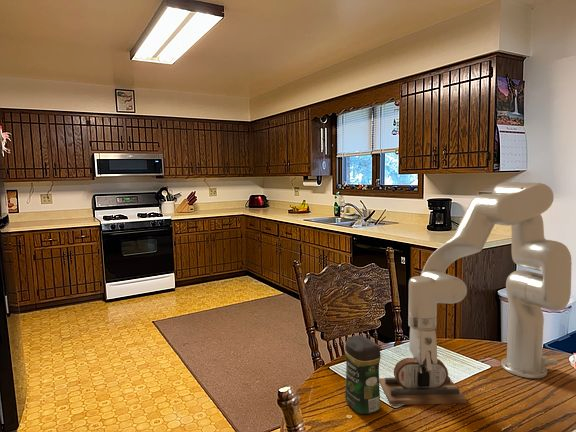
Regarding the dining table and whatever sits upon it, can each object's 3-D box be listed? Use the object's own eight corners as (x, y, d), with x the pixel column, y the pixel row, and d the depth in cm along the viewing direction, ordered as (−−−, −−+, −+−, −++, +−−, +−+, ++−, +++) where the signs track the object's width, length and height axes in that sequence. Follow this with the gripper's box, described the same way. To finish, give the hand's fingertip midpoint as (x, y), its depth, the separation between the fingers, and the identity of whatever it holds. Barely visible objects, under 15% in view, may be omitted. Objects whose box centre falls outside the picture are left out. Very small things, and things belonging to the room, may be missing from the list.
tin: (445, 385, 116) (445, 356, 115) (449, 390, 112) (449, 360, 112) (393, 385, 115) (393, 357, 115) (396, 391, 112) (396, 361, 112)
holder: (448, 380, 120) (448, 372, 120) (466, 403, 108) (466, 393, 108) (379, 382, 120) (379, 373, 120) (389, 404, 108) (389, 395, 108)
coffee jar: (340, 399, 111) (340, 335, 109) (364, 393, 114) (365, 330, 112) (359, 419, 102) (359, 349, 100) (385, 411, 105) (385, 343, 103)
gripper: (447, 331, 104) (445, 398, 106) (425, 310, 120) (424, 369, 122) (418, 332, 104) (417, 398, 106) (400, 311, 120) (399, 369, 122)
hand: (421, 382), depth 114 cm, fingers closed on tin, 2 cm apart
